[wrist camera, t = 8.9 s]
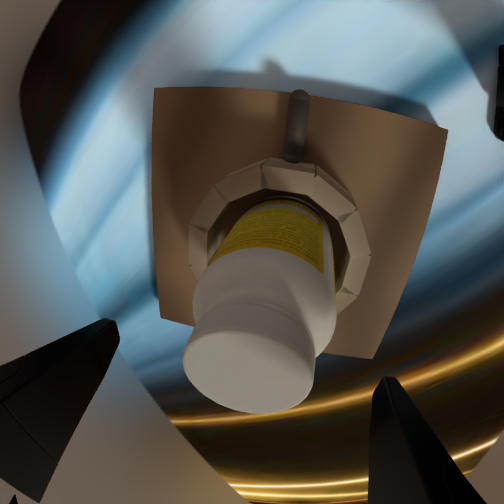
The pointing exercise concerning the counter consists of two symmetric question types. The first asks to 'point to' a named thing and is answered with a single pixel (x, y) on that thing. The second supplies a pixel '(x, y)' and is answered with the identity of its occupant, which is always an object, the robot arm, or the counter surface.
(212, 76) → the counter surface
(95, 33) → the counter surface
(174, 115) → the dock
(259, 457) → the counter surface
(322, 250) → the supplement bottle
